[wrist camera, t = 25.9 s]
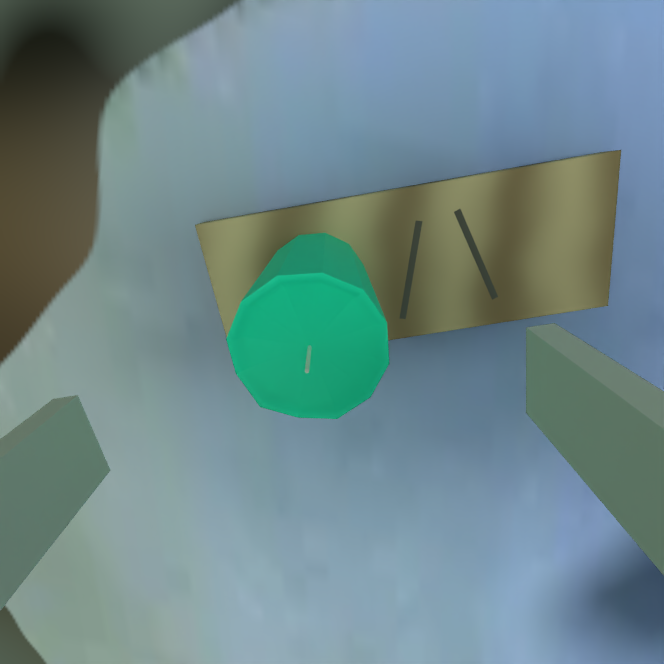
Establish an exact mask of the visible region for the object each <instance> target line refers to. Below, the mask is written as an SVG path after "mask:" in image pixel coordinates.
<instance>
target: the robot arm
mask: <svg viewBox="0 0 664 664" xmlns="http://www.w3.org/2000/svg"><path fill="white" fill-rule="evenodd" d="M526 413H527V414H528V416H529V417H530V418H531V419H532V420H533V421H534V423H535V424H536V425H537V426H538V427H539V429H540V430H541V431H542V432H543V433H544V434H545V436H546V437H547V438H548V439H549V440H550V442H551V443H552V444H553V445H554V446H555V447H556V449H557V450H558V451H559V452H560V453H561V455H562V456H563V457H564V458H565V459H566V460H567V462H568V463H569V464H570V465H571V466H572V468H573V469H574V470H575V471H576V472H577V473H578V475H579V476H580V477H581V478H582V479H583V481H584V482H585V483H586V484H587V485H588V486H589V488H590V489H591V490H592V491H593V492H594V494H595V495H596V496H597V497H598V498H599V499H600V501H601V502H602V503H603V504H604V505H605V507H606V508H607V509H608V510H609V511H610V513H611V514H612V515H613V516H614V517H615V518H616V520H617V521H618V522H619V523H620V524H621V526H622V527H623V528H624V529H625V530H626V531H627V533H628V534H629V535H630V536H631V537H632V539H633V540H634V541H635V542H636V543H637V544H638V546H639V547H640V548H641V549H642V550H643V552H644V553H645V554H646V555H647V556H648V557H649V559H650V560H651V561H652V562H653V563H654V565H655V566H656V567H657V568H658V569H659V570H660V572H661V573H662V574H663V575H664V391H662V390H661V389H659V388H657V387H656V386H654V385H653V384H651V383H649V382H648V381H646V380H645V379H643V378H641V377H640V376H638V375H637V374H635V373H633V372H632V371H630V370H629V369H627V368H625V367H624V366H622V365H621V364H619V363H617V362H616V361H614V360H613V359H611V358H609V357H608V356H606V355H605V354H603V353H601V352H600V351H598V350H597V349H595V348H593V347H592V346H590V345H589V344H587V343H585V342H584V341H582V340H581V339H579V338H577V337H576V336H574V335H573V334H571V333H569V332H568V331H566V330H565V329H563V328H561V327H560V326H558V325H557V324H555V323H552V324H546V325H539V326H533V327H526ZM109 471H110V468H109V466H108V464H107V461H106V459H105V457H104V455H103V452H102V450H101V448H100V445H99V443H98V441H97V439H96V436H95V434H94V432H93V429H92V427H91V425H90V423H89V420H88V418H87V416H86V413H85V411H84V409H83V407H82V404H81V402H80V400H79V397H78V395H77V396H70V397H63V398H57V399H53V400H51V401H50V402H49V403H47V404H46V405H45V406H43V407H42V408H41V409H40V410H38V411H37V412H36V413H34V414H33V415H32V416H30V417H29V418H28V419H26V420H25V421H24V422H22V423H21V424H20V425H19V426H17V427H16V428H15V429H13V430H12V431H11V432H9V433H8V434H7V435H5V436H4V437H3V438H1V439H0V610H1V609H2V608H3V607H4V605H5V604H6V603H7V601H8V600H9V599H10V598H11V596H12V595H13V594H14V593H15V591H16V590H17V589H18V587H19V586H20V585H21V584H22V582H23V581H24V580H25V578H26V577H27V576H28V575H29V573H30V572H31V571H32V570H33V568H34V567H35V566H36V564H37V563H38V562H39V561H40V559H41V558H42V557H43V556H44V554H45V553H46V552H47V550H48V549H49V548H50V547H51V545H52V544H53V543H54V542H55V540H56V539H57V538H58V536H59V535H60V534H61V533H62V531H63V530H64V529H65V528H66V526H67V525H68V524H69V522H70V521H71V520H72V519H73V517H74V516H75V515H76V513H77V512H78V511H79V510H80V508H81V507H82V506H83V505H84V503H85V502H86V501H87V499H88V498H89V497H90V496H91V494H92V493H93V492H94V491H95V489H96V488H97V487H98V485H99V484H100V483H101V482H102V480H103V479H104V478H105V477H106V475H107V474H108V473H109Z"/></svg>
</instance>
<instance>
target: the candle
mask: <svg viewBox="0 0 664 664" xmlns="http://www.w3.org/2000/svg"><path fill="white" fill-rule="evenodd" d="M226 340H227V343H228V347H229V351H230V354H231V358H232V361H233V365H234V368H235V372H236V374H237V376H238V377H239V378H240V380H241V381H242V382H243V384H244V385H245V387H246V388H247V389H248V391H249V392H250V393H251V395H252V396H253V398H254V399H255V400H256V402H257V403H258V405H259V406H260V407H263V408H266V409H270V410H273V411H277V412H280V413H284V414H287V415H291V416H294V417H298V418H326V419H338V418H339V417H341V416H342V415H344V414H345V413H347V412H348V411H350V410H352V409H353V408H355V407H356V406H358V405H359V404H361V403H362V402H364V401H365V400H367V399H368V398H370V397H371V395H372V393H373V392H374V390H375V388H376V386H377V385H378V383H379V381H380V379H381V377H382V376H383V374H384V372H385V370H386V368H387V367H388V365H389V349H388V330H387V321H386V319H385V316H384V314H383V311H382V309H381V306H380V304H379V301H378V299H377V297H376V294H375V292H374V289H373V287H372V284H371V282H370V279H369V277H368V274H367V272H366V269H365V267H364V265H363V263H362V262H361V260H360V259H359V258H358V256H357V255H356V253H355V252H354V250H353V249H352V247H351V246H350V244H348V243H346V242H344V241H342V240H340V239H338V238H336V237H334V236H331V235H329V234H327V233H315V234H305V235H298V236H297V237H295V238H294V239H293V240H291V241H290V242H289V243H287V244H286V245H284V246H283V247H282V248H280V249H279V250H278V251H277V252H276V253H275V255H274V256H273V258H272V259H271V260H270V262H269V263H268V265H267V266H266V267H265V269H264V270H263V272H262V273H261V274H260V276H259V277H258V279H257V280H256V281H255V283H254V284H253V285H252V287H251V288H250V290H249V291H248V292H247V294H246V295H245V297H244V298H243V299H242V301H241V303H240V305H239V308H238V310H237V313H236V315H235V318H234V320H233V323H232V325H231V328H230V331H229V333H228V336H227V338H226Z"/></svg>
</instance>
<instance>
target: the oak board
mask: <svg viewBox="0 0 664 664" xmlns="http://www.w3.org/2000/svg"><path fill="white" fill-rule="evenodd" d="M620 157H621V150H617V151H607V152H600V153H594V154H588V155H583V156H577V157H571V158H566V159H560V160H554V161H549V162H543V163H537V164H532V165H526V166H520V167H515V168H509V169H503V170H498V171H492V172H486V173H481V174H475V175H469V176H464V177H458V178H452V179H447V180H441V181H435V182H430V183H424V184H418V185H413V186H407V187H401V188H396V189H390V190H384V191H379V192H373V193H367V194H362V195H356V196H350V197H344V198H339V199H333V200H327V201H322V202H316V203H310V204H305V205H299V206H293V207H288V208H282V209H276V210H271V211H265V212H259V213H254V214H248V215H242V216H237V217H231V218H225V219H220V220H214V221H208V222H203V223H200V224H197V225H195V227H196V230H197V234H198V237H199V241H200V245H201V248H202V252H203V255H204V259H205V262H206V266H207V269H208V273H209V276H210V280H211V284H212V287H213V291H214V294H215V298H216V301H217V305H218V308H219V312H220V316H221V319H222V323H223V326H224V330H225V333H226V337H227V336H228V333H229V331H230V328H231V325H232V323H233V320H234V318H235V315H236V313H237V310H238V308H239V305H240V303H241V301H242V299H243V298H244V297H245V295H246V294H247V292H248V291H249V290H250V288H251V287H252V285H253V284H254V283H255V281H256V280H257V279H258V277H259V276H260V274H261V273H262V272H263V270H264V269H265V267H266V266H267V265H268V263H269V262H270V260H271V259H272V258H273V256H274V255H275V253H276V252H277V251H278V250H279V249H280V248H282V247H283V246H284V245H286V244H287V243H289V242H290V241H291V240H293V239H294V238H295V237H297V236H298V235H305V234H315V233H327V234H329V235H331V236H334V237H336V238H338V239H340V240H342V241H344V242H346V243H348V244H350V246H351V247H352V249H353V250H354V252H355V253H356V255H357V256H358V258H359V259H360V260H361V262H362V263H363V265H364V267H365V269H366V272H367V274H368V277H369V279H370V282H371V284H372V287H373V289H374V292H375V294H376V297H377V299H378V301H379V304H380V306H381V309H382V311H383V314H384V316H385V319H386V321H387V330H388V340H393V339H400V338H406V337H412V336H419V335H425V334H431V333H438V332H444V331H450V330H457V329H463V328H470V327H476V326H482V325H489V324H495V323H501V322H508V321H514V320H521V319H527V318H533V317H540V316H546V315H552V314H559V313H565V312H571V311H578V310H584V309H591V308H597V307H603V306H608V299H609V287H610V275H611V264H612V252H613V240H614V228H615V216H616V205H617V193H618V181H619V169H620Z"/></svg>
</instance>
